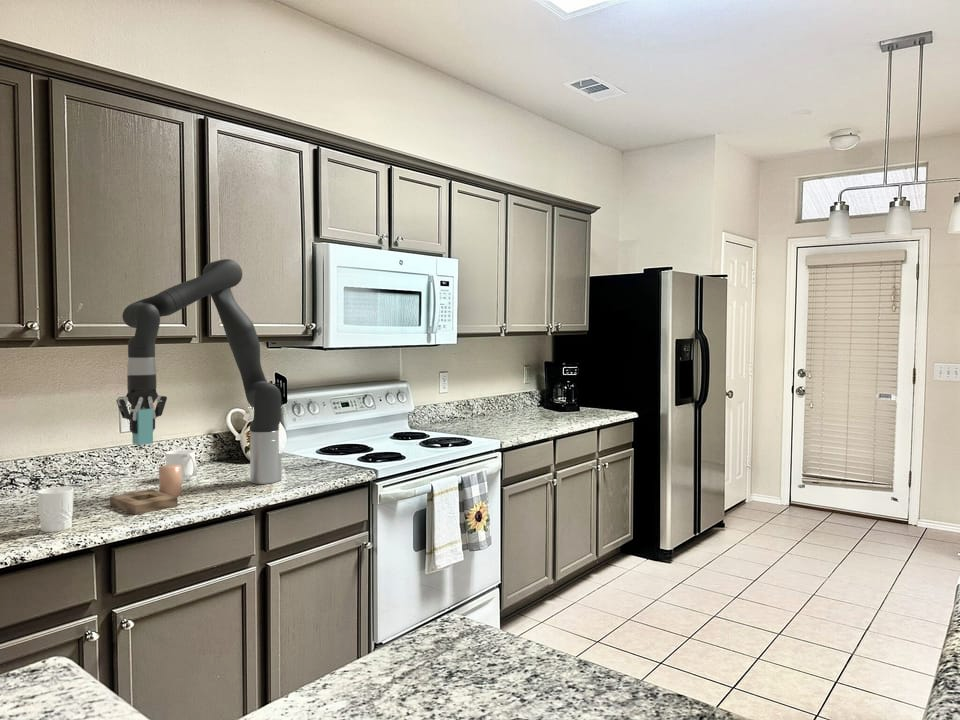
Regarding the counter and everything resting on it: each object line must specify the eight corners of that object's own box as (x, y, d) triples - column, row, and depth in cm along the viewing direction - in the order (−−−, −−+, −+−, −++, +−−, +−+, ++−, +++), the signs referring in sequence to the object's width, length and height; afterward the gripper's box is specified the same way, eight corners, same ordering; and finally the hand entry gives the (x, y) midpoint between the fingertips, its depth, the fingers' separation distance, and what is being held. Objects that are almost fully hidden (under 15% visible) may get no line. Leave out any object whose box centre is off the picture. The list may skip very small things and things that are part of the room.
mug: (161, 479, 235) (160, 452, 235) (186, 474, 242) (185, 448, 242) (179, 484, 228) (178, 456, 227) (204, 479, 235) (204, 452, 234)
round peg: (175, 492, 217) (174, 463, 216) (185, 495, 213) (184, 466, 212) (155, 495, 212) (155, 466, 211) (165, 499, 208) (165, 469, 207)
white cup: (76, 523, 182) (75, 485, 181) (72, 531, 175) (71, 491, 174) (41, 526, 179) (40, 488, 178) (35, 534, 171) (34, 494, 171)
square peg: (146, 441, 202) (146, 407, 201) (153, 443, 199) (152, 408, 199) (132, 443, 199) (132, 409, 198) (139, 445, 196) (138, 410, 196)
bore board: (151, 497, 210) (151, 489, 209) (177, 506, 200) (177, 497, 199) (109, 505, 200) (109, 496, 200) (135, 514, 190) (135, 505, 190)
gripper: (160, 371, 206) (160, 428, 207) (110, 373, 195) (111, 434, 196) (172, 372, 201) (173, 431, 202) (122, 374, 190) (123, 436, 191)
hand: (142, 432), depth 199 cm, fingers closed on square peg, 4 cm apart
